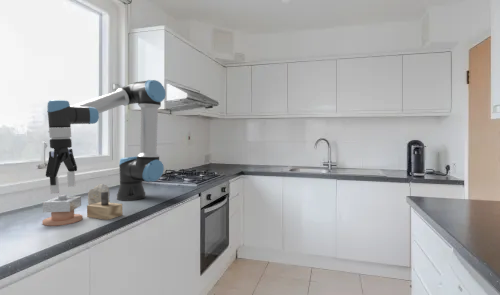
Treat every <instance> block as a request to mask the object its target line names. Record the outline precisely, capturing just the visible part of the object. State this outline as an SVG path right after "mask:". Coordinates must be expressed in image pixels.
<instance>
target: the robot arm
mask: <svg viewBox="0 0 500 295" xmlns="http://www.w3.org/2000/svg"><path fill="white" fill-rule="evenodd" d="M165 98H166V89H165V86H164V85H163V84H162V83H161V82H160V81H159V80H156V79H148V80H141V81H136V82H133V83H130V84H127V85H125V86H122V87H119V88H117V89H116V91H113V92H111V93H107V94H104V95H100V96H98V97H94V98H91V99H88V100H85V101H82V102H79V103H75V104H73V105H71V104H70V101H68V100H65V99H64V100H63V99H51V100H48V102H47V120H48V133H49V134H48V135H49V138H50V139H49V148H50V149H53V151H51V150H50V151H49V152H48V161H47V166H46V169H45V170H46V171H45V176H46V178H49V186H50V188H49V189H50V194H60V187H59V176H58V173H59V170H60V167H61V164H62V163H64V165H65V167H66V169H67V171H66V173H67V175H66V177H67V187H68V188H69V187H71V188H72V187H76V175H75V174H76V173H75V172H77V171H78V166H77V162H76V160H75V156H74V151H73V149H72V146H73V144H72V142H73V141H72V138H71V137H72V126H71V125H86V124H87V125H91V124H96V123H98V122H99V120H100V114H101V113H104V112H106V111H110V110H113V109H115V108H117V107H120V106H128V105H132V104H133V105H134V104H137V105H138V107H139V108H140V130H139V132H140V134H139V136H140V137H139V153H138V154H137V155H136V156H128V157H121V158H120V159H119V163H118V164H119V165H118V166H119V187H118V191H117V194H116V199H117V201H135V200H136V201H139V200H141V199H145V198H146V196H147V195H146V191H145V188H144V185H143V181H144V182H148V183H149V182H151V183H152V182H153V183H154V182H156V181H158V180H160V178H161V177H162V175H163V174H164V170H165V169H164V168H165V167H164V163H163V161H161V160H160V155H159V154H158V152H157V146H158V111H159V110H158V109H159V108H161V106H162V104H161V103H162V102H163V101H164V99H165Z"/></svg>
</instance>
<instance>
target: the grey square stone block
mask: <svg viewBox="0 0 500 295" xmlns="http://www.w3.org/2000/svg"><path fill="white" fill-rule="evenodd" d="M81 206H82V196H81V195H80V196H67V200H63V201H58V196H55V197H53V198H51V199H48V200H46V201H43V202H42V213H51V212H70V211H72V210H74V211H75V209H77V208H80V207H81Z"/></svg>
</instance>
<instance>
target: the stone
mask: <svg viewBox="0 0 500 295" xmlns="http://www.w3.org/2000/svg"><path fill="white" fill-rule="evenodd" d="M101 192H108V202H110V203H111V200H110V195H111V194H110V193H111V192H110V187H109V186H107V184H105V183H100V184H97V185H96V186H93V188H91V189H89V190H88V192H87V204H88V205H91V204H95V203H99V202H101Z"/></svg>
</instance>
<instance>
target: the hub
mask: <svg viewBox="0 0 500 295" xmlns="http://www.w3.org/2000/svg"><path fill="white" fill-rule="evenodd" d="M57 197H58V201H63V200H67V197H68V196H67V194H62V195H61V194H60V195H57ZM50 214H51V215H50V217H46V218H44V219H43V220H42V225H43V226H47V227H58V226H59V227H60V226H67V225H72V224H75V223H78V222H80V221H82V220H83V217H84V216H83V215H82V214H80V213H75V209H74V210H72V211H70V212H50Z"/></svg>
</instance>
